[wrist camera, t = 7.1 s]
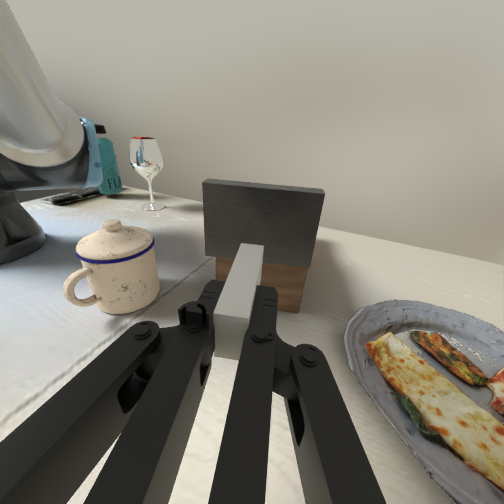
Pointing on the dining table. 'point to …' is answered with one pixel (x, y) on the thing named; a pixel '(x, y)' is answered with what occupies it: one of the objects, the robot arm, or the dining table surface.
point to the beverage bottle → (108, 165)
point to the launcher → (274, 281)
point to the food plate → (437, 391)
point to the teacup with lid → (116, 269)
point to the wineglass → (146, 164)
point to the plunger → (261, 220)
